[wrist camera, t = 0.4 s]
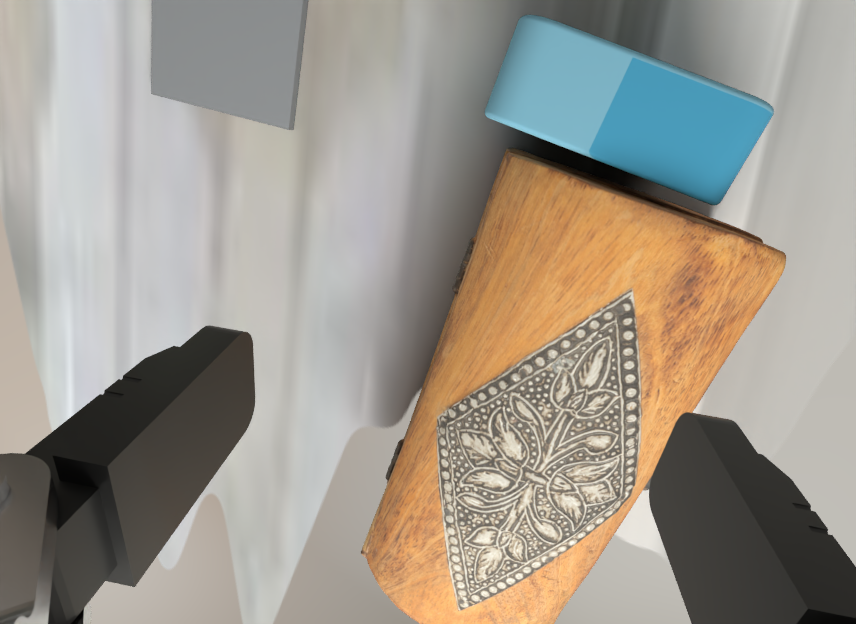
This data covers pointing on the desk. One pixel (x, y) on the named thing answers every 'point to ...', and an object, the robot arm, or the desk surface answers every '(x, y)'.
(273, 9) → the slate mat
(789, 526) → the robot arm
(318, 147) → the desk surface
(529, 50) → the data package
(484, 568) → the wooden box
